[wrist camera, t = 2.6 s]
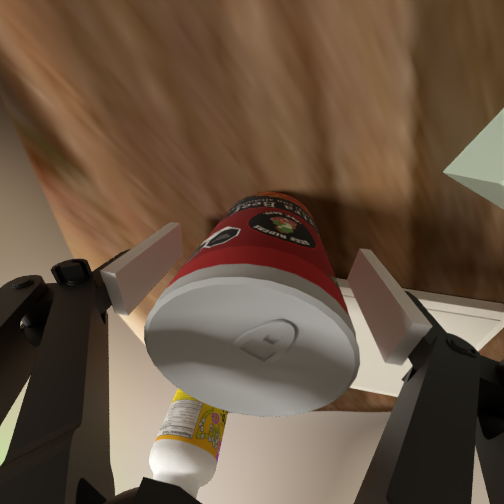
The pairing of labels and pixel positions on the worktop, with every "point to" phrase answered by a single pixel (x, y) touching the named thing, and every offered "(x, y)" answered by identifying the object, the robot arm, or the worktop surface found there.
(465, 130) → the worktop surface
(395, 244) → the worktop surface
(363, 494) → the robot arm
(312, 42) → the worktop surface
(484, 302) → the tray
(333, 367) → the canned food
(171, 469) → the supplement bottle
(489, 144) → the sage block
